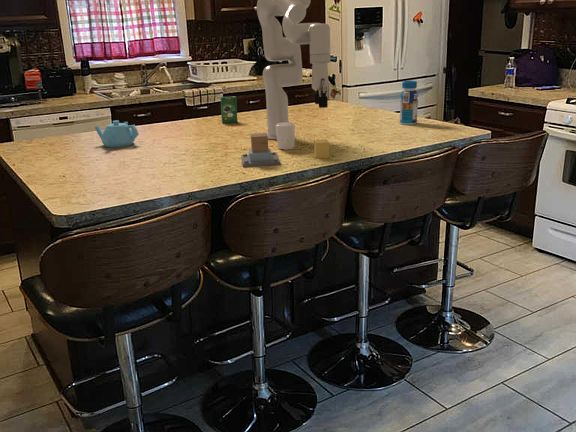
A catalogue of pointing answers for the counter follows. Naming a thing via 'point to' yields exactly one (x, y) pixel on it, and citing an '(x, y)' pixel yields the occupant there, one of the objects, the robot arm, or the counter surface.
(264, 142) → the walnut brick
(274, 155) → the build plate
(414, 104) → the blue capped bottle
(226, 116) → the coffee box
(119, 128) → the teapot
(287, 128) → the white cup
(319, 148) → the mustard brick
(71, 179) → the counter surface
